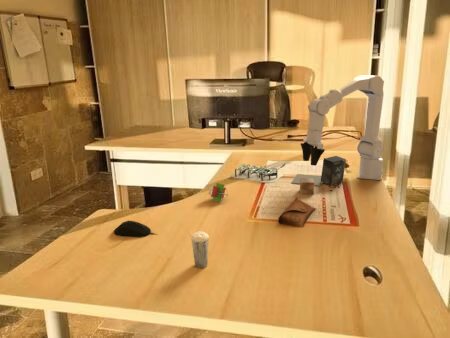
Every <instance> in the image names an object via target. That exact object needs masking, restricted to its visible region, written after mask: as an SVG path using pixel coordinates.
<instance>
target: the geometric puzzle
mask: <svg viewBox="0 0 450 338" xmlns="http://www.w3.org/2000/svg"><path fill="white" fill-rule="evenodd" d="M225 192H228V190H227V188H226V186H225V184H222V183H218V182H216V183H215V185H212V186H210V187H209V189H208V195H209V196H210V197H211V199H212V200H213V201H216V202H219V203H221V201H223V199H224V198H225V197H224V196H225V195H226V197H228V195H229V194H228V193H227V194H226V193H225Z"/></svg>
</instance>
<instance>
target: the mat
mask: <svg viewBox="0 0 450 338" xmlns="http://www.w3.org/2000/svg"><path fill="white" fill-rule="evenodd" d="M300 178H307V179H313V180H314V187H321V185H322V184H323V182H321V175H315V174H314V175H312V174H302V173H297V174H295V176H294V178H293V179H292V181H291V182H290V184H294V185H300Z"/></svg>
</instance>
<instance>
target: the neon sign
mask: <svg viewBox="0 0 450 338" xmlns="http://www.w3.org/2000/svg"><path fill="white" fill-rule="evenodd" d="M285 165H286V163H284V164H282V165H281V166H280V167H279V168H278V167H269V166H264V167H263V166H262V165H259V166H257V165H255V164H254V165H251V164H247V165H246V164H245V163H244V164H240V165H239V166H237V167H235V168H234V173H233V174H232V175H231V177H232V178H234V179H244V180H247V181H253V182H260V183H264V184H265V183H268V184H269V183H274V182H276V181H277V180H279V179H280V178H282V177H283V175H284V174H283V173H281V172H278V170H280V169H281V168H283V166H285Z"/></svg>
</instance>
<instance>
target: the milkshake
mask: <svg viewBox="0 0 450 338" xmlns="http://www.w3.org/2000/svg"><path fill="white" fill-rule="evenodd" d="M187 233H188V235H189V237H190V239H191V247H192V254H193V261H194V262H193V263H194V266H195V267H196V268H198V269H203V268H206V267H207V266H208V262H209V239H210V236H209V234H208V233H207V232H205V231H200V230H198V231H196V232H194V233H193V234H192V235H191V234H190V232H189V231H187Z"/></svg>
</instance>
